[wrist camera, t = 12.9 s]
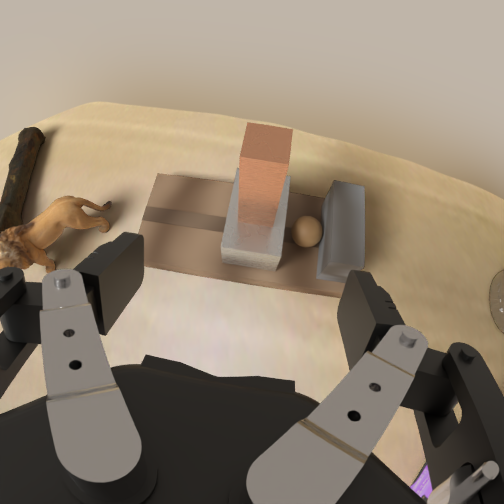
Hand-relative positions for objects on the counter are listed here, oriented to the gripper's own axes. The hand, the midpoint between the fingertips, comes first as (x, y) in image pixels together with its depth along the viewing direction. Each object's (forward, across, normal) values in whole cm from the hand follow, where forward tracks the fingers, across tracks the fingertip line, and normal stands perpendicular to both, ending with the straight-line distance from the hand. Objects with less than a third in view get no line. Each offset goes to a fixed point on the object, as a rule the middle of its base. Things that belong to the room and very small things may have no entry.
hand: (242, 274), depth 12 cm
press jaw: (+19, 0, +5) cm, 20 cm away
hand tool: (+22, +31, +6) cm, 38 cm away
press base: (+21, 0, +7) cm, 22 cm away
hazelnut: (+19, -5, +5) cm, 21 cm away
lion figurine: (+17, +21, +10) cm, 29 cm away
